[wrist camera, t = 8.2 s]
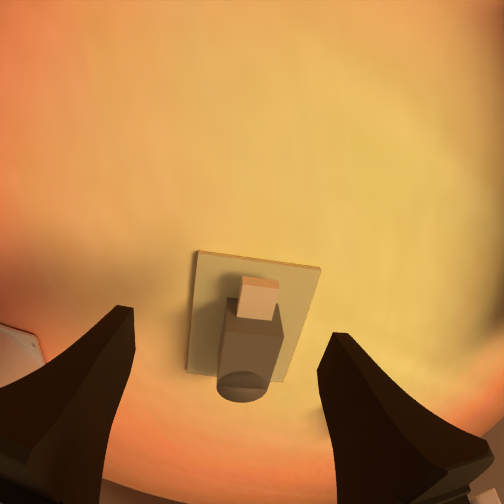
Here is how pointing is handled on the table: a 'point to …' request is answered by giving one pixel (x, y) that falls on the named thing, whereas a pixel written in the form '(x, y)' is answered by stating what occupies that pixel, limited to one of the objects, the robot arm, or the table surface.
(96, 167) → the table surface
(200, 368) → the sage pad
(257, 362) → the tan-capped grey bottle
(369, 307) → the table surface
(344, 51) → the table surface
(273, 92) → the table surface
